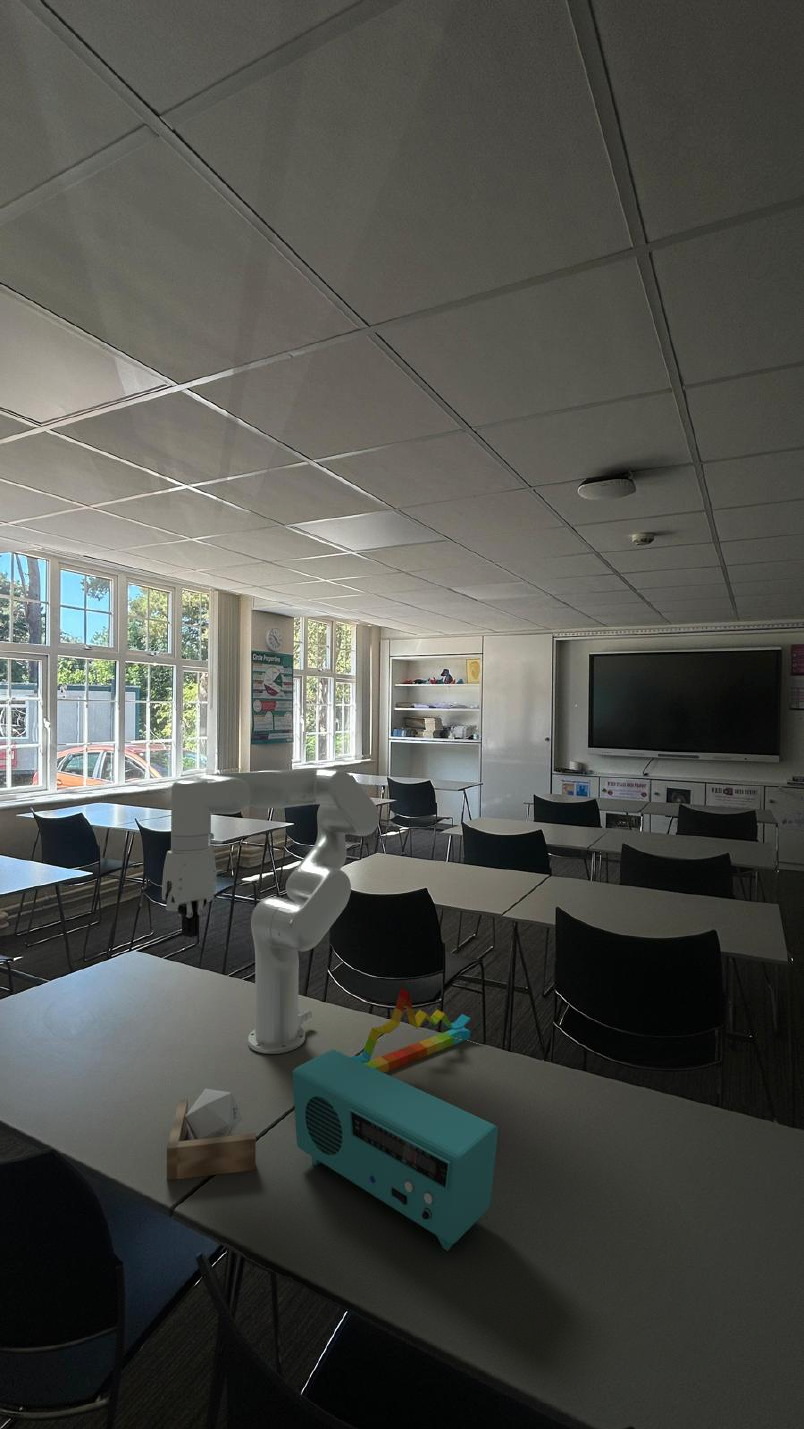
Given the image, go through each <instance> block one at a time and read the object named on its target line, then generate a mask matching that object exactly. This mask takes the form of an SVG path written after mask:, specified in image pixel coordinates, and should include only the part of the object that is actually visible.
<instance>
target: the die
mask: <svg viewBox="0 0 804 1429" xmlns="http://www.w3.org/2000/svg"><path fill="white" fill-rule="evenodd" d="M241 1114H242V1113H241V1112H240V1109H239V1107H238V1104H237V1102H236V1099H235V1097H234V1095H233V1093H232V1092H230V1091H223V1090H217V1089H210V1088H204V1090H202V1092H201V1094H200V1095H199V1097H198V1098H197V1099H196V1101H195V1102H194V1103H193V1105H192V1106H191V1107H190V1109H188V1113H187V1114H186V1116H185V1118H186V1120H187V1123H188V1127H189V1130H190V1132H191V1134H192V1137H193V1140H196V1139H205V1138H215V1137H224V1136H233V1135H232V1134H233V1133H234V1132H235V1130H236V1129H237V1128H238V1127H239V1124H240V1123H241V1122H242V1119H243V1117H242V1115H241Z"/></svg>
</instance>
